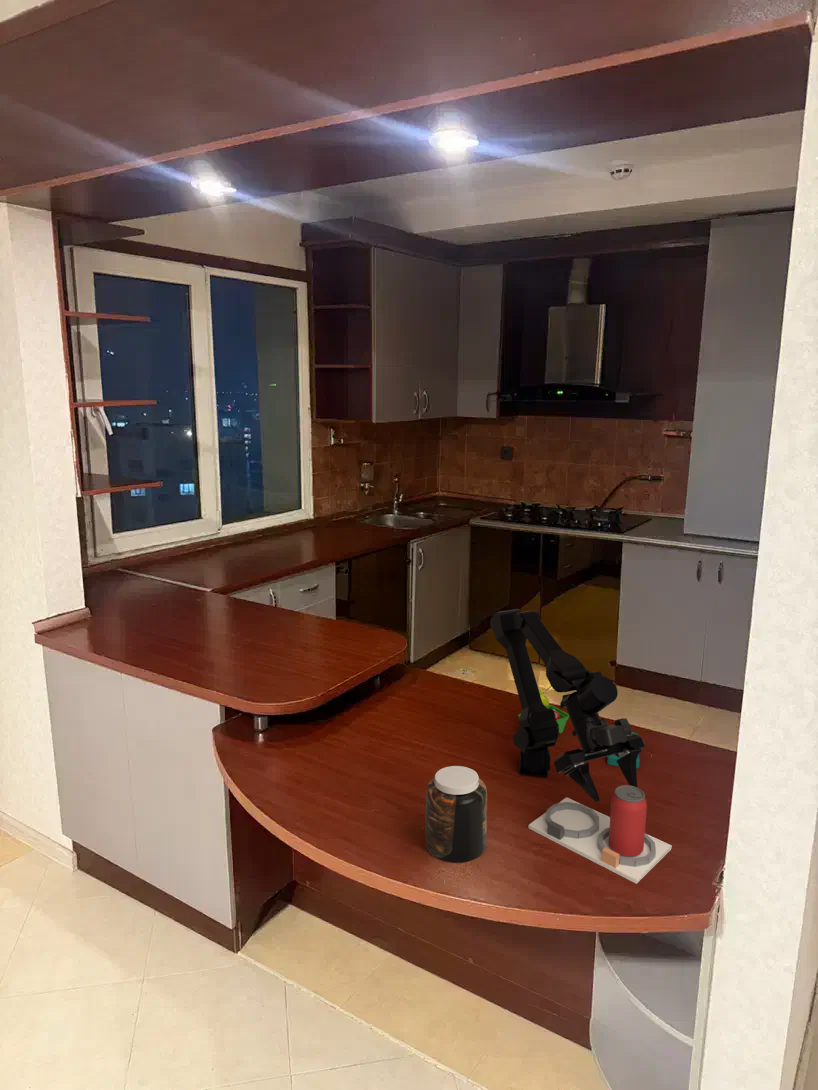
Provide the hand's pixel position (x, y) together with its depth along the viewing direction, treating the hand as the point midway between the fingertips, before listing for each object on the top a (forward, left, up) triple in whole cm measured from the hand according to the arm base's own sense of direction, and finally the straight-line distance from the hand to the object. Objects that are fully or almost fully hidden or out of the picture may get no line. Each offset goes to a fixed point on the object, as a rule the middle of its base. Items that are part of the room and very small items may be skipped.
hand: (617, 796), depth 146 cm
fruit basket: (-14, +44, -10) cm, 47 cm away
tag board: (-3, 0, -10) cm, 10 cm away
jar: (-31, -6, -10) cm, 33 cm away
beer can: (+2, -3, -9) cm, 10 cm away
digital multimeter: (+6, +36, -11) cm, 38 cm away
